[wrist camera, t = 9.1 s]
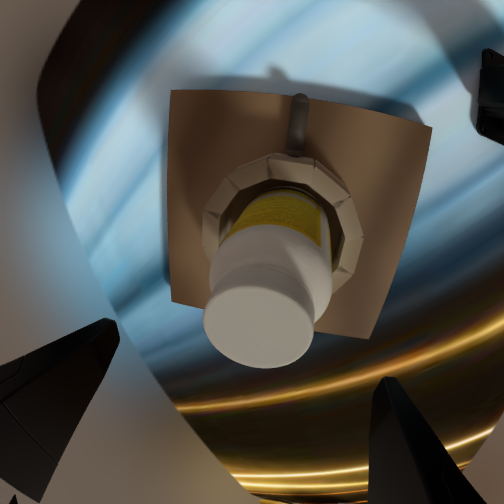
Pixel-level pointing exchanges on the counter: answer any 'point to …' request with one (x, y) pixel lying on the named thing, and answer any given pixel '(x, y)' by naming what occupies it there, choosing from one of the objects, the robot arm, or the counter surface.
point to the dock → (296, 175)
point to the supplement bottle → (270, 279)
